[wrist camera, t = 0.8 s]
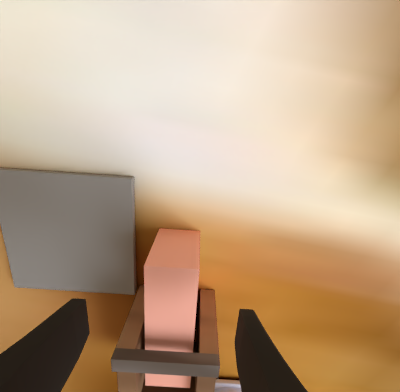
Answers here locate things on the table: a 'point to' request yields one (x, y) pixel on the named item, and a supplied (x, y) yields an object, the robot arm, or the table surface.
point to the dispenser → (167, 352)
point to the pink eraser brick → (171, 298)
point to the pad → (69, 230)
